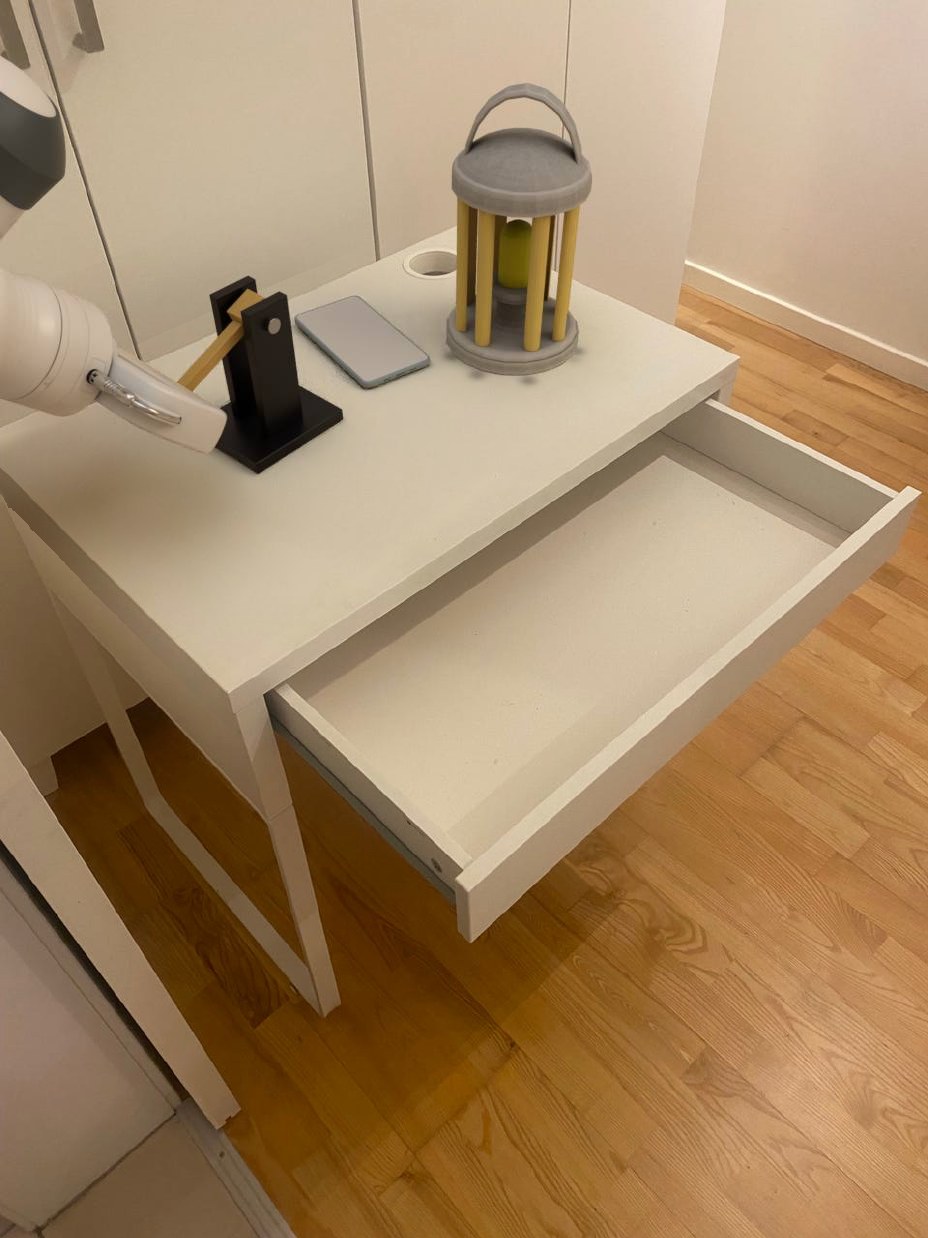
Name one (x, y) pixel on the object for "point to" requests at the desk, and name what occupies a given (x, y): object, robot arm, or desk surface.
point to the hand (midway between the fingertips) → (185, 403)
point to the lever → (220, 342)
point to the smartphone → (362, 341)
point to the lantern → (516, 242)
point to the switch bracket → (265, 383)
